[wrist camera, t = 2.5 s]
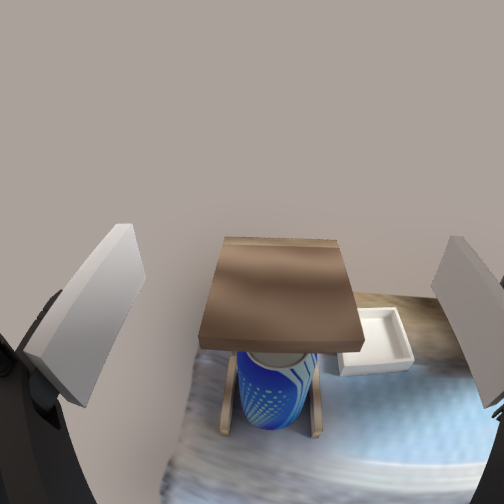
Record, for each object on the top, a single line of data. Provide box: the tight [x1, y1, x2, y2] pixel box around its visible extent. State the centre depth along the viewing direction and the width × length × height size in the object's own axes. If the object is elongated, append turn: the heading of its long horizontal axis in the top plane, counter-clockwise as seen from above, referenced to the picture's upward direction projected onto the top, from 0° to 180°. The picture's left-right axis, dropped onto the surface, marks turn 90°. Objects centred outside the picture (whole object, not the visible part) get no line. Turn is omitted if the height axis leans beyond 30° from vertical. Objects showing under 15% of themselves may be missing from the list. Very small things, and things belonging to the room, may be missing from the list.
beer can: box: [237, 351, 317, 430], centre depth 31 cm, size 8×8×16 cm
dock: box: [198, 237, 365, 438], centre depth 31 cm, size 14×13×22 cm
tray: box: [337, 307, 415, 376], centre depth 43 cm, size 12×12×3 cm
